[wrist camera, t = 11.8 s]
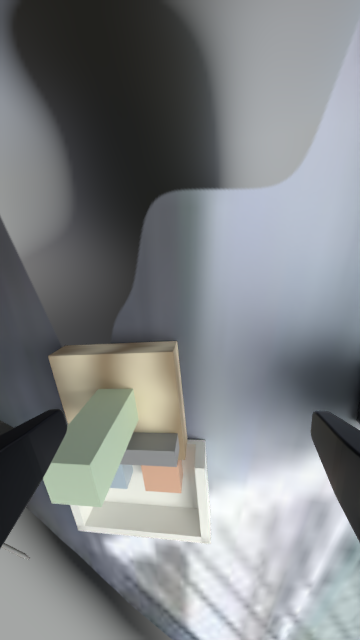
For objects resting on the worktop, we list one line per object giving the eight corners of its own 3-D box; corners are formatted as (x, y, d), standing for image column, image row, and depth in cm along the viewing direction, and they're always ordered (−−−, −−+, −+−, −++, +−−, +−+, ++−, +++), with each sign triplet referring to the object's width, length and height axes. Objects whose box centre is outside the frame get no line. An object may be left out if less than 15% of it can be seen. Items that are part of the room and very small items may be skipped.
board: (177, 340, 20) (173, 351, 18) (187, 439, 23) (185, 459, 21) (65, 345, 22) (47, 356, 19) (89, 436, 25) (77, 455, 23)
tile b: (128, 445, 24) (121, 461, 22) (133, 471, 25) (127, 488, 23) (95, 444, 24) (86, 459, 22) (102, 469, 25) (94, 486, 24)
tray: (205, 439, 23) (204, 468, 20) (210, 509, 26) (210, 544, 23) (74, 436, 25) (55, 461, 22) (93, 500, 28) (78, 530, 25)
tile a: (180, 447, 23) (177, 464, 21) (183, 474, 24) (181, 493, 22) (145, 446, 24) (140, 463, 22) (150, 472, 25) (145, 490, 23)
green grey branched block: (172, 388, 19) (151, 468, 12) (179, 447, 21) (165, 548, 13) (63, 389, 20) (-16, 459, 13) (78, 444, 22) (17, 532, 15)
